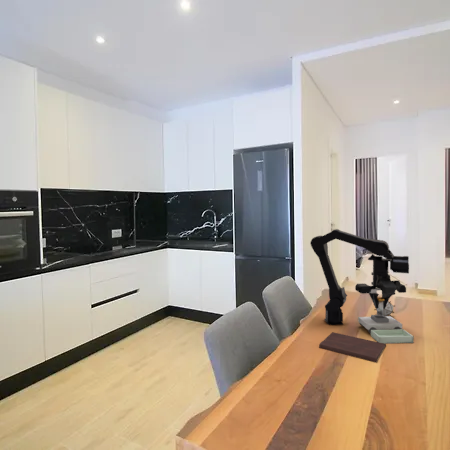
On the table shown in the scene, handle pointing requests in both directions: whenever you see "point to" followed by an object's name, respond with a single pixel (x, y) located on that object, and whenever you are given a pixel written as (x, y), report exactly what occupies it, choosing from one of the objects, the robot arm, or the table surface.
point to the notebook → (353, 346)
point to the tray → (392, 336)
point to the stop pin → (380, 305)
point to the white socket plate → (379, 322)
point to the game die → (388, 309)
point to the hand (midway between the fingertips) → (380, 308)
